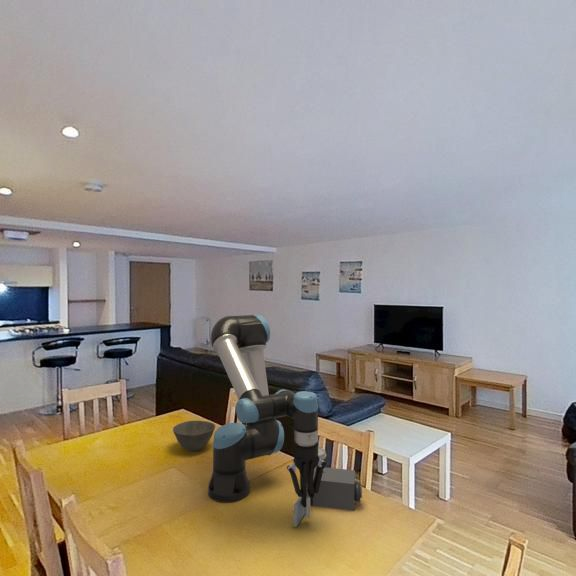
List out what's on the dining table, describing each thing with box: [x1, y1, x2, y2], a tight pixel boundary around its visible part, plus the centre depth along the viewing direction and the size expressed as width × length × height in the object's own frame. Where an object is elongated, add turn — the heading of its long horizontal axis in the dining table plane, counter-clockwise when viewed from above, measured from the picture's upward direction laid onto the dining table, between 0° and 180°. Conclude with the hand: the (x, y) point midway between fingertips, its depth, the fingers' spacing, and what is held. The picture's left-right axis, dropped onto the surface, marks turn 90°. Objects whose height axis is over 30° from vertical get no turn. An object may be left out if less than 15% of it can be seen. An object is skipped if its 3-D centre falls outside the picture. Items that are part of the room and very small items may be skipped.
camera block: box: [311, 466, 363, 512], centre depth 140 cm, size 18×10×10 cm, turn 79°
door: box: [292, 492, 308, 527], centre depth 130 cm, size 13×2×7 cm, turn 158°
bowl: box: [172, 420, 216, 452], centre depth 182 cm, size 19×19×10 cm
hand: (307, 515), depth 126 cm, fingers closed
